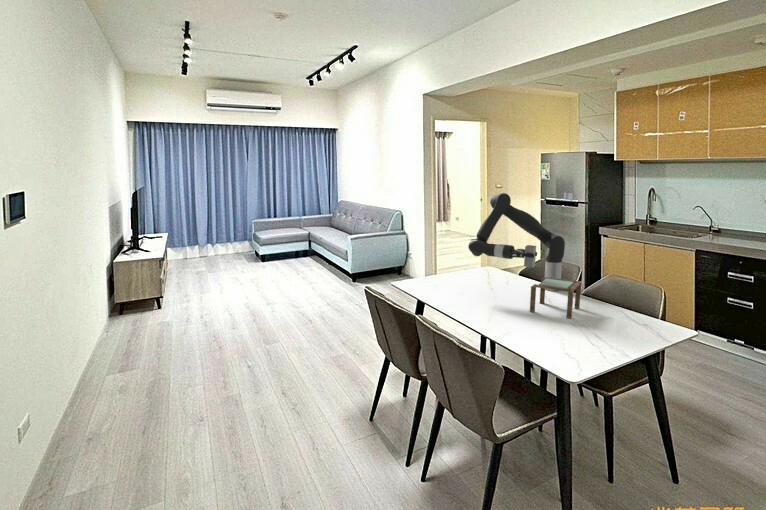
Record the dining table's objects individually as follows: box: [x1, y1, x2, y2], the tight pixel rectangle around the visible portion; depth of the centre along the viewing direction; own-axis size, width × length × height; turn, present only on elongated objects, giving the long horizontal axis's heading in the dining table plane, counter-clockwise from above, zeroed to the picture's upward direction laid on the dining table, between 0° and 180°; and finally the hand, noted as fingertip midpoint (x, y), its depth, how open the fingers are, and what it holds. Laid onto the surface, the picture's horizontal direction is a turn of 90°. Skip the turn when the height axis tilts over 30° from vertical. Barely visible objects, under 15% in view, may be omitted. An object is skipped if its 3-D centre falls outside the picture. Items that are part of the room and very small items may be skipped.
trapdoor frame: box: [529, 276, 582, 320], centre depth 238 cm, size 20×20×14 cm
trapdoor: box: [538, 279, 575, 289], centre depth 237 cm, size 14×15×1 cm
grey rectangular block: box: [523, 244, 537, 269], centre depth 246 cm, size 4×4×11 cm
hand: (535, 254), depth 244 cm, fingers closed on grey rectangular block, 4 cm apart
